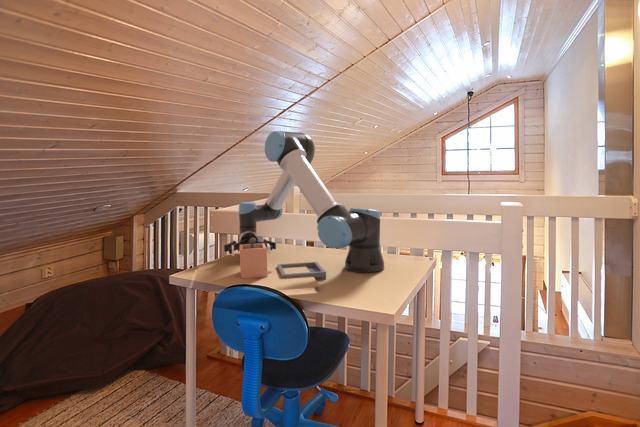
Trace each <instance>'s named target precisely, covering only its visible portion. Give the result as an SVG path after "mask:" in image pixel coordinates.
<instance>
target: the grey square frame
mask: <svg viewBox="0 0 640 427" xmlns="http://www.w3.org/2000/svg"><path fill="white" fill-rule="evenodd" d="M276 266H277V270H278V271H279V272H278V273H279V274H280V276H281V279H288V278H289V279H290V278H301V277H302V278H303V277H313V278H314V280H316V281H317V280H327V271H326V270H325V269H324V267H322V266H321V264H320V263H319V262H318V261H310V262H309V261H308V262H307V261H306V262H294V263H292V262H291V263H278V264H276ZM293 267H306V269H307V270H308V272H307V271H306V272H296V273H295V272H294V273H285V271H284V268H293Z"/></svg>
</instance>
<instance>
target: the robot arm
mask: <svg viewBox="0 0 640 427" xmlns="http://www.w3.org/2000/svg"><path fill="white" fill-rule="evenodd" d="M264 154H265V157H266V159H268V160H269V161H270V162H273V163H274V162H275V163H277V164H278V166H279V168H280V169H281V170H282V173H281V175H280V176H279V177H278V180H277V181H276V183H275V185H274V187H273V188H272V190H271V192H270V194H269V195H268V198H267V199H266V200H265V202H264V204H258V205H256V202H254V201H242V202H239V204H238V217H239V237H238V238H239V242H238V241H236V240H232V242H229V243H226V244H224V245H223V249H224V250H223V252H225V253H226V252H228V254H229V255H231V256H232V257H234V256H235V252H236V251H238V250H239V251H240V245H243V244H250V243H249V239H250V238H252V237H253V238H255V239H256V243H255V244H261V243H265V246H266V248H267V255H271V251H273V250H276V249H277V244H276V242H274V241H271V240H268V239H263V240H262V241H261V240H260V239H258V236H257V223H259V222H265V221H274V220H278V219H280V218H281V217H282V215H283V205H284V203H285V202H286V200H287V199H288V197H289V195H290V194H291V192H292V191H293V189H294V187H295V186H296V185H297V187H298V189H299V190H300V192H301V194H302V195H303V196H304V198H305V199H306V202H307V203H308V204H309V206H310V207H311V209H312V210H313V211H314V213H315V215H316V216H317V218H316V224H317V227H316V229H317V231H318V232H317V236H318V239H319V241H321V243H322V244H323V245H325V246H326V247H327V248H329V249H330V248H331V249H344V248H346V247H349V248H348V251H347V255H346V258H345V260H344V268H345V270H347V271H350V272H353V273H361V274H362V273H365V274H367V273H377V272H378V273H379V272H381V271H383V270H384V269H385V260H384V258H383V255H382V254H383V253H382V252H381V247H380V246H381V244H380V243H381V215H380V214H381V213H380V212H379V210H378V209H369V208H360V207H359V208H357V207H350V208H349V210H348V209H347V208H346V207H345V205H344V204H343V203H338V202H337V200H335V198H334V197H333V195H332V194H331V192H330V191H329V190H328V187H326V185H325V184H324V182H323V181H322V180H321V178H320V177H319V175H318V174H317V172H316V171H315V170H314V168H313V166H311V163H312V162H313V159H314V157H315V142H314V141H313V139H312V138H311V136H309V135H308V134H306V133H304V132H296V131H284V130H277V131H275V130H274V131H272V132H270V133H269V134H268V135H267V137H266V139H265V143H264Z"/></svg>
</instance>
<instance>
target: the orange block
mask: <svg viewBox="0 0 640 427" xmlns="http://www.w3.org/2000/svg"><path fill="white" fill-rule="evenodd" d="M239 264H240V265H239V266H240V268H239V270H240V271H239V272H240V273H241V277H240V279H251V278H254V277H262V278H264V277H267V278H268V275H267V271H268V251H267V248H266V246H265V243H261V244H255V248H253V249H250V244H243V245H240V249H239Z"/></svg>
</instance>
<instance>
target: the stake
mask: <svg viewBox="0 0 640 427" xmlns="http://www.w3.org/2000/svg"><path fill="white" fill-rule="evenodd" d="M249 243H250V249H253V248H255V243H256V239H255V238H253V237H252V238H250V239H249ZM271 273H273V271H268V270H267V276H268V275H269V274H271ZM233 277H235V278H241V272H240V273H238V274H235V275H234V276H233ZM262 278H263V277H254V278H250V279H253V280H260V279H262Z"/></svg>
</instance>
